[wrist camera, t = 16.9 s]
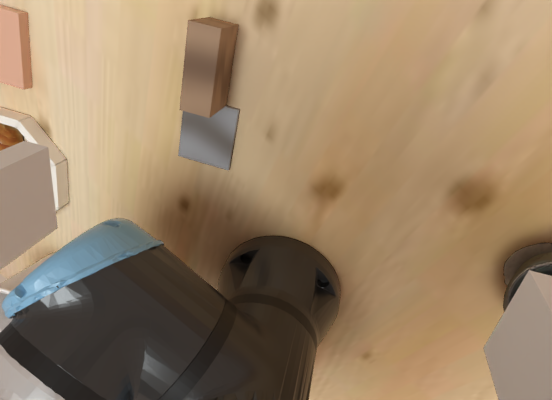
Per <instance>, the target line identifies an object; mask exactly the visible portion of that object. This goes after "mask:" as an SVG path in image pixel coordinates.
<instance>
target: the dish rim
mask: <svg viewBox="0 0 552 400" xmlns="http://www.w3.org/2000/svg"><path fill="white" fill-rule="evenodd" d="M0 123H2V124H5V125H8V126H12V127H15V128H17V129H18V130H19V131H20V133H21V134H22V135H23V136H24V137H25V139H26V140H27V141H28V142H31V143H35V144H39V145H42V146H46V147H48V149H49V157H50V166H51V175H52V183H53V192H54V200H55V209H56V211H57V210H58V209H60V208H61V207H63V206H64V205H66V204H67V203H68V202H69V192H68V172H67V160H65V159H66V158H65V156H64V155H63V154H62V153H61V151H60V150H59V149H58V148H57V147H56V145H55V144H54V143H53V142H52V140H51V139H50V138H49V137H48V135H47V134H46V133H45V132H44V131H43V129H42V128H41V127H40V126H39V124H38V123H37V122H36V121H35V120H34V118H33V117H31V116H30V115H26V114H23V113H19V112H16V111H12V110H9V109H5V108H2V107H0Z"/></svg>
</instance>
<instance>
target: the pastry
mask: <svg viewBox="0 0 552 400" xmlns="http://www.w3.org/2000/svg"><path fill="white" fill-rule="evenodd" d="M20 142H23V135H22V134H21V133H20V131H19V130H18V129H17V128H15V127H12V126H8V125H5V124H2V123H0V151H1V150H4V149H6V148H8V147H11V146H13V145H15V144H18V143H20Z"/></svg>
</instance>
